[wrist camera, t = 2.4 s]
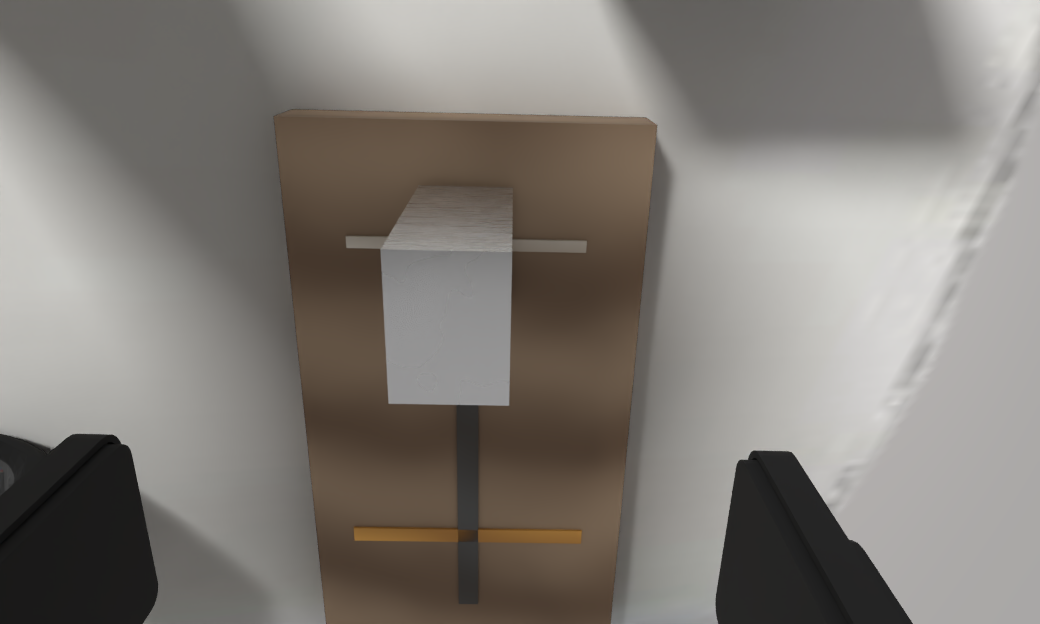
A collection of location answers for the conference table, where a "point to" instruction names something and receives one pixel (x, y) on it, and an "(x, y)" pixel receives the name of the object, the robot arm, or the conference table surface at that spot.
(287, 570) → the conference table surface
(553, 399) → the fader console
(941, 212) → the conference table surface
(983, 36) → the conference table surface
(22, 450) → the controller
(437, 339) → the fader tab
